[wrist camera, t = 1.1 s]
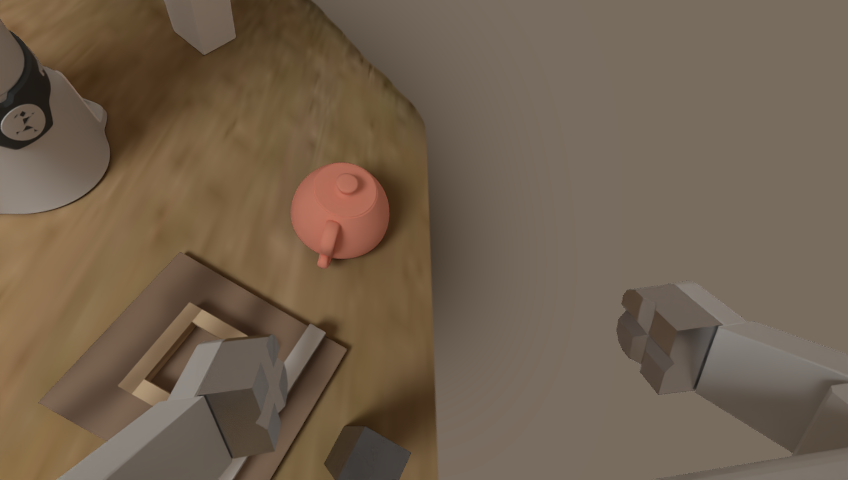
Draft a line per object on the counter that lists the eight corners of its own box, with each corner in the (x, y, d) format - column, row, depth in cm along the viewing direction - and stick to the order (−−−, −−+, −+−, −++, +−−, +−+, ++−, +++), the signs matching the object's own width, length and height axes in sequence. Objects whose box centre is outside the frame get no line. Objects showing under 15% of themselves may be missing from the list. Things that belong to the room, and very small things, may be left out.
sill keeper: (43, 403, 38) (25, 401, 36) (182, 254, 47) (175, 244, 44) (247, 517, 39) (243, 524, 36) (346, 350, 48) (349, 346, 45)
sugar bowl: (394, 199, 58) (412, 158, 49) (367, 290, 51) (381, 261, 42) (310, 170, 56) (312, 122, 47) (270, 260, 50) (264, 223, 41)
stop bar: (323, 463, 42) (336, 482, 28) (344, 426, 44) (365, 426, 30) (356, 482, 43) (385, 510, 29) (375, 444, 44) (411, 452, 31)
